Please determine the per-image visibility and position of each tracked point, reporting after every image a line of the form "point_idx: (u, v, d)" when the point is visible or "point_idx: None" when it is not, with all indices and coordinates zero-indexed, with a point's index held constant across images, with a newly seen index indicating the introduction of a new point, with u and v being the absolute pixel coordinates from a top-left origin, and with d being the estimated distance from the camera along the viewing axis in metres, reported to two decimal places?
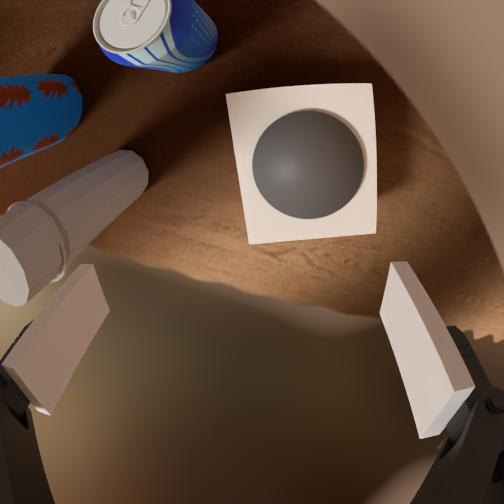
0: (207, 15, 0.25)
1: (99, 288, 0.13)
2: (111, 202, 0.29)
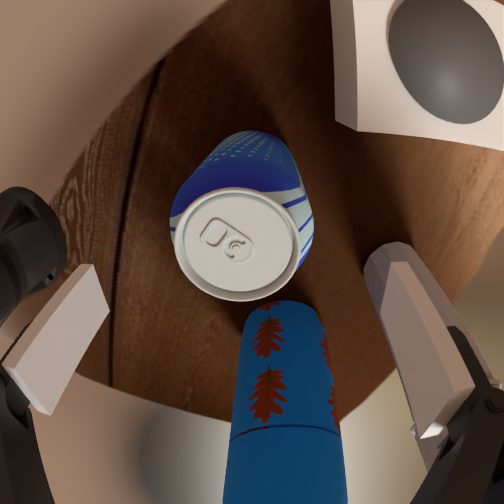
0: (227, 139, 0.24)
1: (99, 288, 0.13)
2: (440, 301, 0.22)
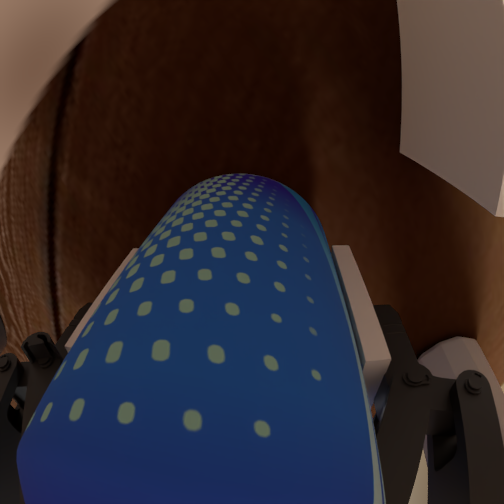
0: (182, 207, 0.11)
1: None
2: None
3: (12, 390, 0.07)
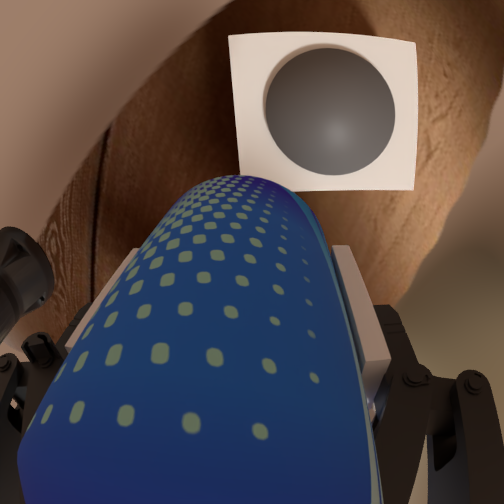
0: (181, 209, 0.11)
1: None
2: None
3: (12, 390, 0.07)
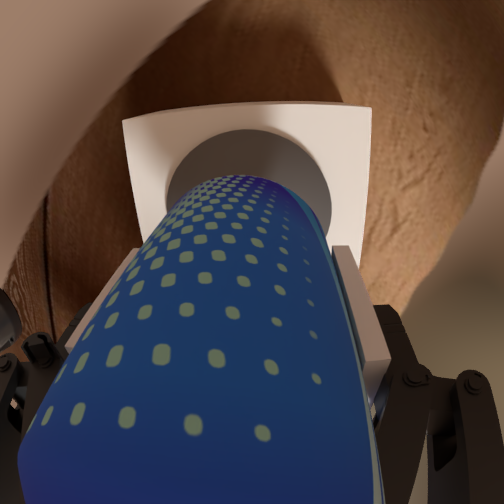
0: (182, 209, 0.11)
1: None
2: None
3: (12, 390, 0.07)
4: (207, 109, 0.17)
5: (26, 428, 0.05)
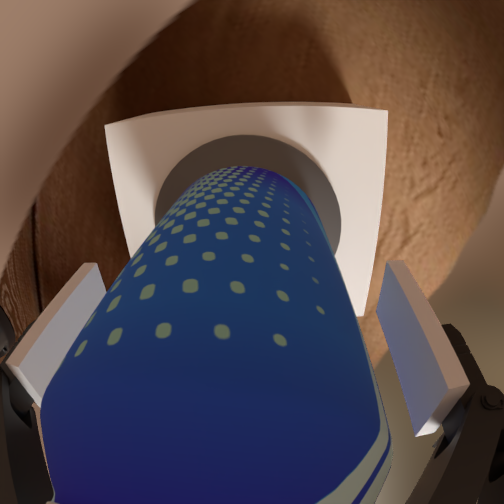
0: (193, 193, 0.12)
1: (102, 287, 0.13)
2: None
3: None
4: (199, 111, 0.15)
5: None
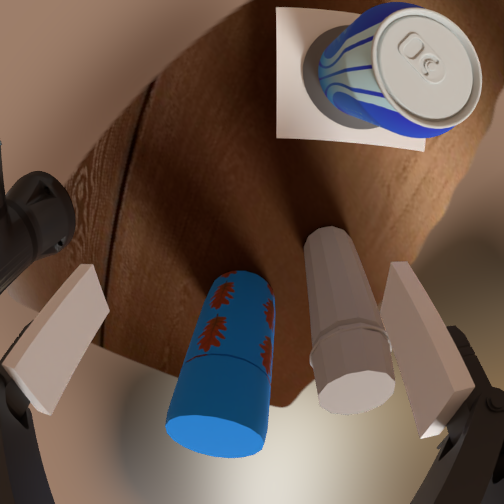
0: None
1: (99, 288, 0.13)
2: (348, 268, 0.32)
3: None
4: (336, 11, 0.22)
5: None
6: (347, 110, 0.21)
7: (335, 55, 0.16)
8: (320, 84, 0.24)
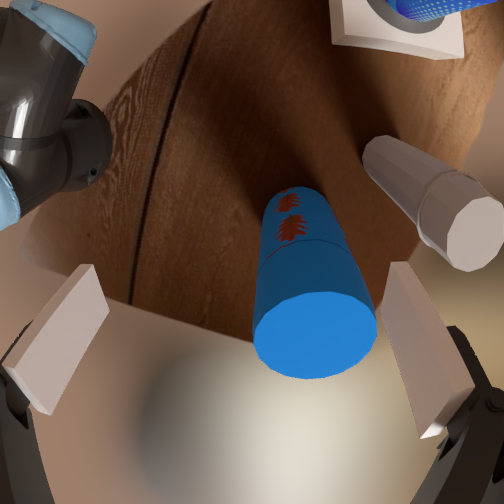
0: None
1: (99, 288, 0.13)
2: None
3: None
4: None
5: None
6: None
7: None
8: None
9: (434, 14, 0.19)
